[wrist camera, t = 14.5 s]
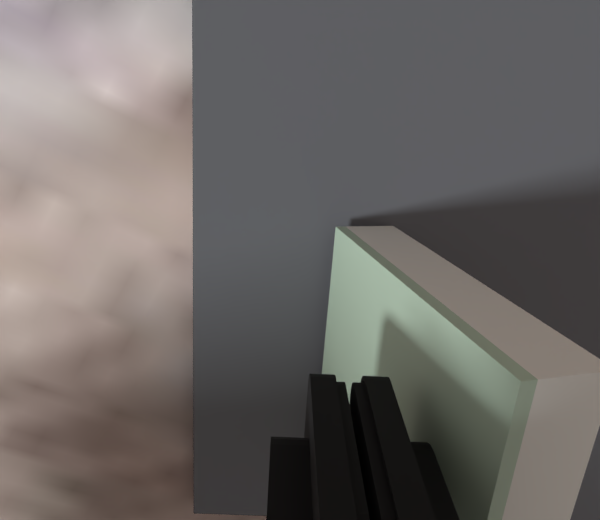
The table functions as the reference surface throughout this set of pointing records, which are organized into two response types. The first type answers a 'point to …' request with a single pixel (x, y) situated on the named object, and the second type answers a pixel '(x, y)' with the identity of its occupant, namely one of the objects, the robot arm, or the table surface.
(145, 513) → the table surface
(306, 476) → the robot arm
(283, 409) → the mat
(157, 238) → the table surface
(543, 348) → the slab
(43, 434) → the table surface
